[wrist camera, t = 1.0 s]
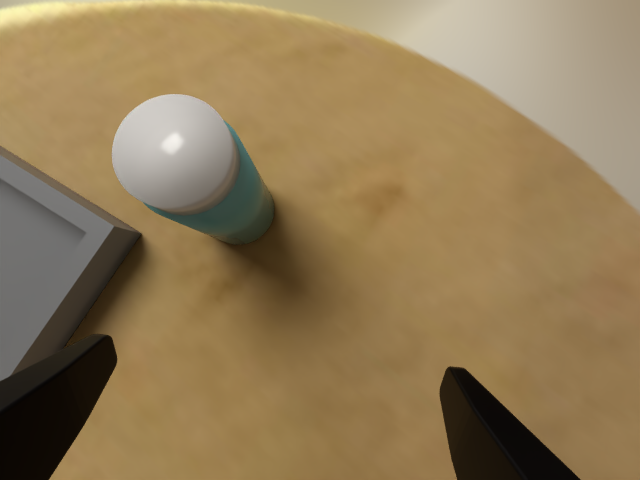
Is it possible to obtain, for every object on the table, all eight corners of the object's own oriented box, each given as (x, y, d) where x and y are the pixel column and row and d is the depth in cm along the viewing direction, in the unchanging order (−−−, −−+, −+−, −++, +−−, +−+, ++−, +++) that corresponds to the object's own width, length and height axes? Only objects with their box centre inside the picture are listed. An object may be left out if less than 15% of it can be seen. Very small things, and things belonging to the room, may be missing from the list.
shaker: (249, 257, 22) (188, 237, 12) (190, 221, 23) (80, 170, 12) (287, 198, 23) (260, 128, 12) (229, 163, 23) (155, 67, 13)
